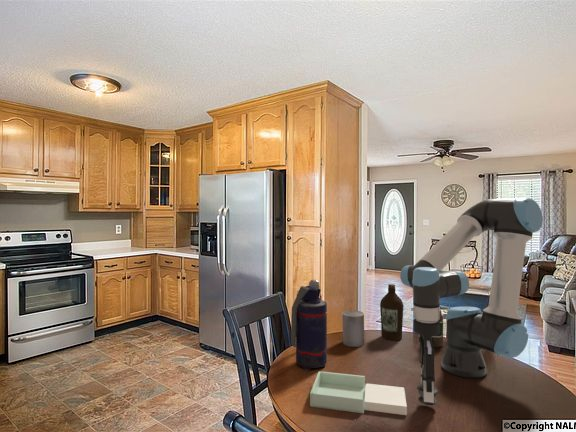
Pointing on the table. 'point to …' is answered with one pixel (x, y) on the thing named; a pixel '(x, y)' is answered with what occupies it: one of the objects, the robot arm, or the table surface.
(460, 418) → the table surface
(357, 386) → the box
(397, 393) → the white square slab
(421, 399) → the dark grey tall piece
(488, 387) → the table surface
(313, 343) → the grenade
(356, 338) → the pillar candle
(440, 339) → the beer bottle
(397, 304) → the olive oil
